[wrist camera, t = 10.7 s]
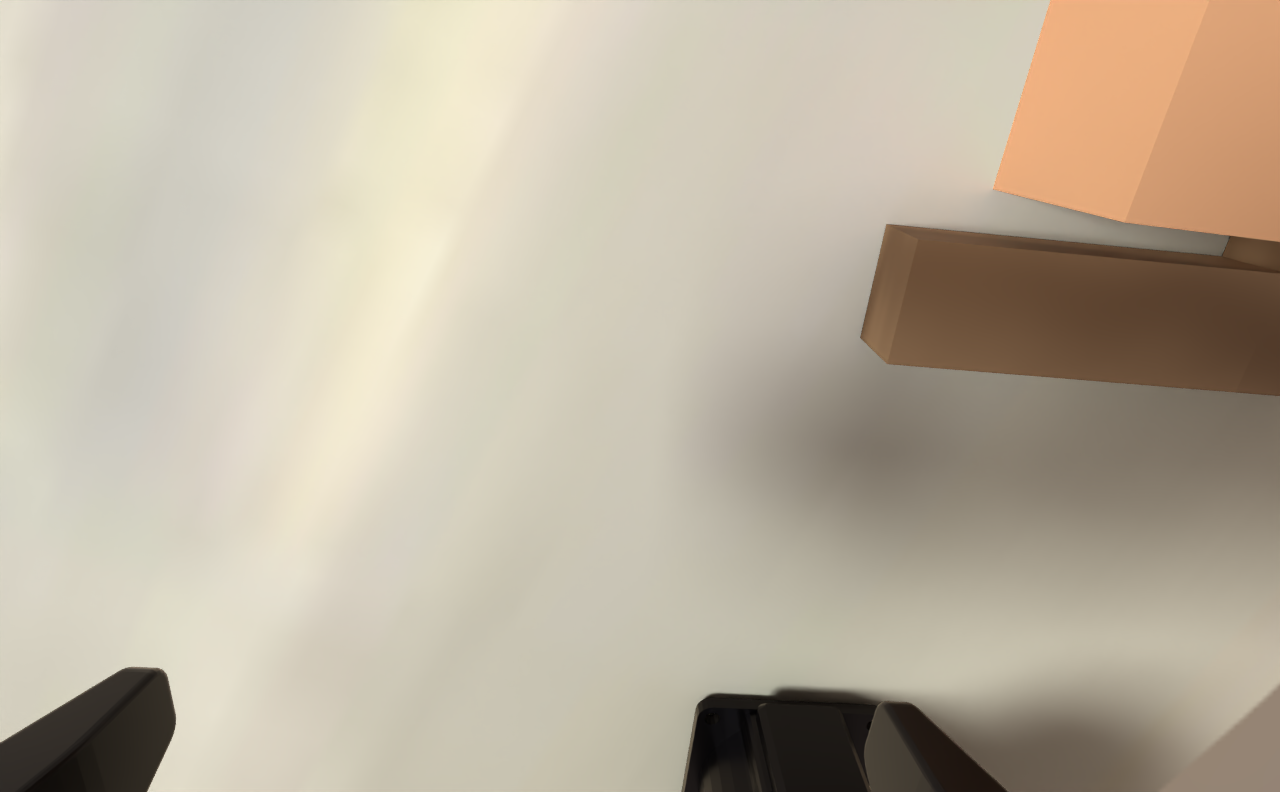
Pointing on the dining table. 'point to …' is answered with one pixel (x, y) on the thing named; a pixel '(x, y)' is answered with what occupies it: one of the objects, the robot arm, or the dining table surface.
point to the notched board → (1078, 310)
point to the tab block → (1154, 115)
